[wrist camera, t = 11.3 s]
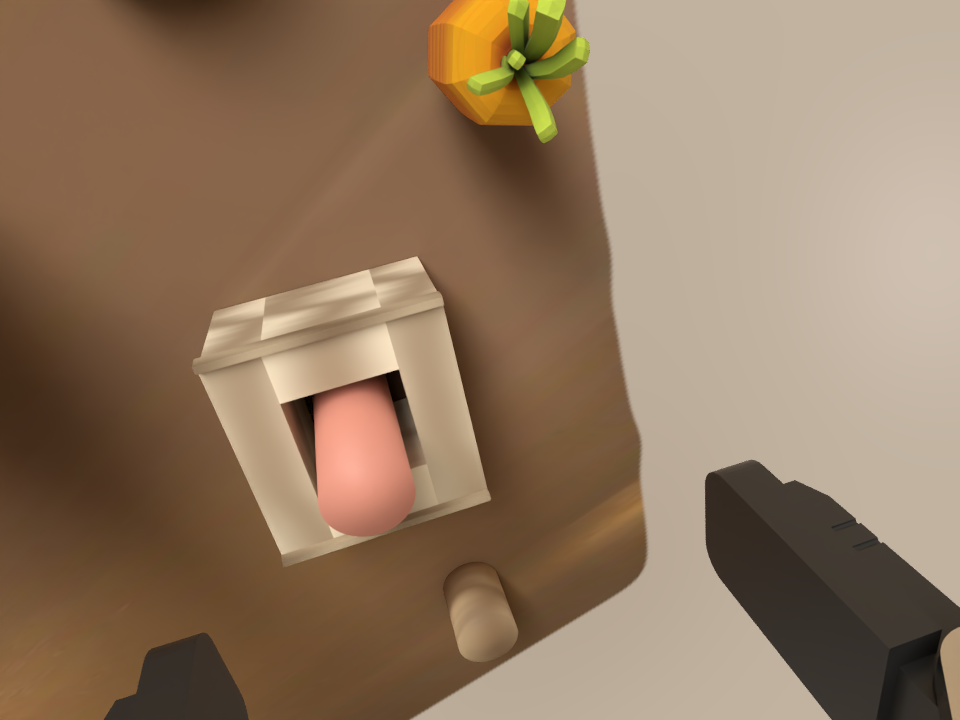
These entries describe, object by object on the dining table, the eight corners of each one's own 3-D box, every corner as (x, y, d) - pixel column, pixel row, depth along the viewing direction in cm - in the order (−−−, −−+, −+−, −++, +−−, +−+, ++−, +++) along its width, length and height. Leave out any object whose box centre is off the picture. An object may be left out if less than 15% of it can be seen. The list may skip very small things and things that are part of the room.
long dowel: (324, 409, 39) (334, 548, 28) (302, 350, 37) (305, 474, 26) (390, 390, 39) (425, 519, 29) (372, 330, 37) (402, 444, 27)
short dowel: (449, 612, 48) (465, 669, 44) (437, 573, 46) (452, 629, 42) (502, 594, 49) (522, 649, 44) (492, 554, 47) (512, 608, 42)
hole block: (285, 480, 40) (284, 567, 33) (211, 304, 34) (191, 367, 28) (460, 426, 41) (491, 500, 35) (415, 249, 36) (442, 296, 29)
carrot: (475, 122, 34) (588, 176, 21) (384, 78, 32) (445, 109, 19) (516, 23, 32) (667, 14, 19) (423, -29, 30) (520, -77, 17)
